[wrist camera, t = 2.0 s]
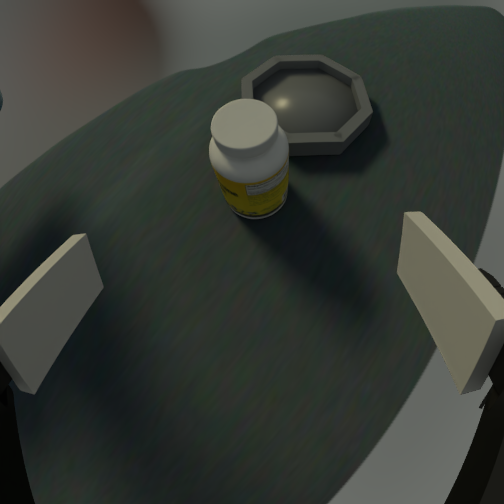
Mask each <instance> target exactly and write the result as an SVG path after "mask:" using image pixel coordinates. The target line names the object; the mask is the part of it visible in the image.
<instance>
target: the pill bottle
mask: <svg viewBox="0 0 504 504" xmlns="http://www.w3.org/2000/svg"><path fill="white" fill-rule="evenodd" d="M211 132H212V139H211V141H210V146H209V156H210V161H211V164H212V166H213V169H214V171H215V174H216V176H217V179H218V181H219V184H220V186H221V189H222V192H223V194H224V197H225V199H226V202H227V204H228V205H229V207H230V208H231V209H232V210H233V211H234V212H235V213H236V214H238V215H240V216H242V217H245V218H249V219H261V218H266V217H268V216H271V215H273V214H274V213H276V212H277V211H278V210H279V209H280V208H281V207H282V206H283V204H284V203H285V200H286V198H287V193H288V176H289V145H288V140H287V137H286V134H285V132H284V131H283V130H282V128H281V127H280V126H279V125H278V119H277V116H276V113H275V112H274V110H273V109H272V108H271V107H270V106H269V105H267V104H266V103H264V102H262V101H259V100H255V99H239V100H235V101H232V102H229V103H227V104H226V105H224V106H223V107H221V108H220V109H219V110H218V111H217V112H216V113H215V115H214V117H213V119H212V122H211Z"/></svg>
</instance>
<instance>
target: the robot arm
mask: <svg viewBox="0 0 504 504" xmlns="http://www.w3.org/2000/svg"><path fill="white" fill-rule="evenodd" d="M2 104H3V98H2V94H1V91H0V110H1V108H2ZM397 274H398V276H399V277H400V279H401V281H402V282H403V284H404V286H405V288H406V289H407V291H408V293H409V295H410V296H411V298H412V300H413V302H414V303H415V305H416V307H417V309H418V311H419V313H420V314H421V316H422V318H423V320H424V322H425V324H426V326H427V327H428V329H429V331H430V333H431V335H432V337H433V339H434V341H435V343H436V345H437V347H438V349H439V351H440V353H441V355H442V357H443V359H444V361H445V363H446V365H447V367H448V369H449V372H450V374H451V376H452V378H453V380H454V382H455V385H456V387H457V389H458V391H459V394H460V395H462V394H465V393H469V392H472V391H476V390H479V389H481V387H482V385H483V384H484V382H485V380H486V378H487V377H488V375H489V377H490V379H491V381H492V383H493V385H492V387H491V389H490V390H489V392H488V393H487V395H486V397H485V398H484V400H483V401H482V403H481V405H480V406H479V408H481V409H482V407H483V406H484V404H485V406H484V409H483V412H482V415H481V418H480V421H479V424H478V427H477V430H476V433H475V436H474V438H473V441H472V444H471V446H470V449H469V451H468V454H467V456H466V459H465V461H464V463H463V466H462V468H461V470H460V472H459V475H458V477H457V479H456V481H455V483H454V485H453V487H452V489H451V491H450V493H449V495H448V497H447V499H446V501H445V503H444V504H504V288H503V287H501V285H500V284H499V282H498V281H497V280H496V279H495V278H494V277H493V276H492V275H490V274H489V273H487V272H486V271H484V270H482V269H481V268H480V269H477V268H476V267H475V266H474V264H473V263H472V262H471V261H470V260H469V259H468V258H467V257H466V256H465V255H464V254H463V253H462V252H461V251H460V249H459V248H458V247H457V246H456V245H455V244H454V243H453V242H452V241H451V240H450V239H449V238H448V237H447V236H446V235H445V234H444V233H443V232H442V231H441V230H440V229H439V228H438V227H437V226H436V225H435V224H434V223H433V222H431V221H430V220H429V219H428V218H427V217H426V216H425V215H424V214H423V213H422V212H404V221H403V230H402V239H401V247H400V255H399V262H398V269H397ZM103 288H104V286H103V283H102V280H101V278H100V275H99V272H98V269H97V266H96V263H95V260H94V257H93V254H92V251H91V248H90V244H89V241H88V238H87V235H86V234H77V235H72V236H71V237H70V238H69V239H68V240H67V241H66V242H65V243H64V244H62V245H61V246H60V247H59V248H58V249H57V250H56V251H55V252H54V253H53V254H52V255H51V256H50V257H49V258H47V259H46V260H45V261H44V262H43V263H42V264H41V265H40V266H39V267H38V268H37V269H36V270H35V271H34V272H33V273H32V274H31V275H30V276H29V277H28V278H27V279H26V280H25V281H24V282H23V283H22V284H21V285H20V286H19V287H18V288H17V289H16V291H15V292H14V293H13V294H12V295H11V296H10V297H9V298H8V299H7V300H6V301H5V302H4V303H3V304H2V306H1V307H0V504H35V502H34V499H33V496H32V492H31V489H30V485H29V481H28V477H27V473H26V469H25V465H24V460H23V455H22V450H21V445H20V440H19V434H18V428H17V421H16V414H15V406H14V397H13V391H12V389H11V388H10V386H9V385H8V384H9V382H10V381H11V379H12V380H13V381H14V383H15V384H16V385H17V387H18V388H19V389H20V391H23V392H27V393H30V394H34V395H35V393H36V391H37V390H38V388H39V386H40V384H41V383H42V381H43V379H44V378H45V376H46V374H47V373H48V371H49V369H50V368H51V366H52V364H53V363H54V361H55V360H56V358H57V356H58V355H59V353H60V352H61V350H62V348H63V347H64V345H65V344H66V342H67V341H68V339H69V337H70V336H71V334H72V333H73V331H74V330H75V328H76V327H77V325H78V324H79V322H80V321H81V319H82V318H83V316H84V315H85V313H86V312H87V310H88V309H89V308H90V306H91V305H92V303H93V302H94V300H95V299H96V298H97V296H98V295H99V293H100V292H101V290H102V289H103Z"/></svg>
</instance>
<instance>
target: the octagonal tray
mask: <svg viewBox="0 0 504 504" xmlns="http://www.w3.org/2000/svg"><path fill="white" fill-rule="evenodd" d="M242 99H255V100H259V101H262V102H264V103H266V104H267V105H269V106H270V107H271V108H272V109H273V110H274V112H275V113H276V116H277V119H278V125H279V126H280V127H281V128H282V130H283V131H284V132H285V134H286V137H287V140H288V145H289V156H309V155H340V154H341V153H342V152H343V151H344V150H345V149H346V148H347V147H348V146H349V145H350V144H351V143H352V142H353V141H354V140H355V139H356V138H357V137H358V136H359V135H360V134H361V133H362V132H363V130H364V129H365V128H366V127H367V126H368V125H369V123H370V120H371V117H372V113H373V110H372V107H371V104H370V101H369V98H368V95H367V92H366V89H365V86H364V83H363V81H362V78H361V76H360V75H358V74H356V73H354V72H353V71H351V70H349V69H347V68H345V67H344V66H342V65H340V64H338V63H336V62H334V61H332V60H331V59H329V58H327V57H325V56H323V55H283V56H274V57H272V58H271V59H269V60H268V61H266V62H265V63H263V64H262V65H261V66H259V67H258V68H256V69H255V70H253V71H252V72H251V73H249V74H248V75H246V76H245V77H244V78H242Z"/></svg>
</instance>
